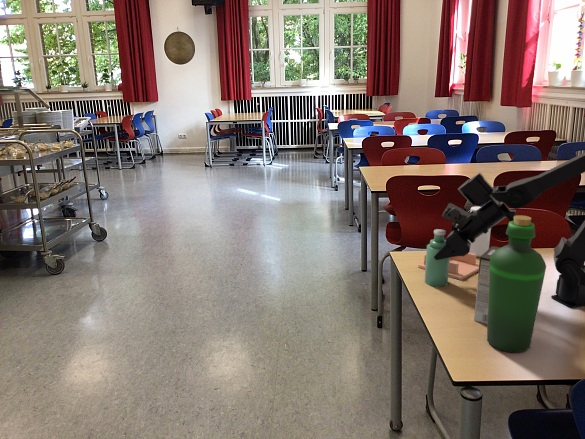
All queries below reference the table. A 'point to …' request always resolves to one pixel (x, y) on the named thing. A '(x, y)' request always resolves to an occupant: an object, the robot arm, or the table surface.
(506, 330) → the bottle
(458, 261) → the u rest
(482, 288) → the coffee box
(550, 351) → the table surface
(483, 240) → the pill bottle
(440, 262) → the bottle
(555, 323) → the table surface
